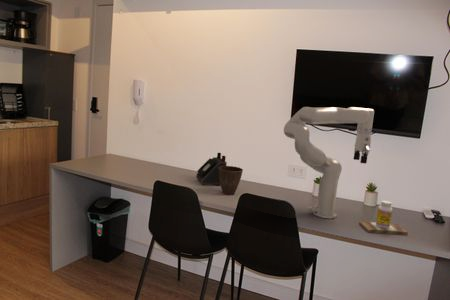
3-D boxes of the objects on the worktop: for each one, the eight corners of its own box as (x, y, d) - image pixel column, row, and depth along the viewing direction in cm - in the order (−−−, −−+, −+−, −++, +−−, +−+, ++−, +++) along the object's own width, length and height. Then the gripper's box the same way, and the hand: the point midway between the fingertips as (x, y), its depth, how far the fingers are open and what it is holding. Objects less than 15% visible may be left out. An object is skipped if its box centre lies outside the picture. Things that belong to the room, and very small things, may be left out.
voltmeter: (195, 179, 255) (197, 151, 252) (218, 179, 260) (220, 152, 257) (201, 186, 240) (203, 156, 237) (224, 186, 245) (227, 156, 242)
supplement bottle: (377, 227, 183) (380, 203, 181) (374, 222, 189) (377, 199, 187) (391, 229, 182) (395, 204, 180) (387, 224, 188) (391, 200, 186)
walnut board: (367, 232, 180) (368, 229, 180) (359, 224, 191) (359, 221, 190) (407, 235, 181) (407, 231, 180) (396, 226, 192) (397, 223, 191)
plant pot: (241, 191, 234) (243, 167, 232) (239, 198, 220) (242, 172, 217) (218, 189, 236) (220, 165, 233) (215, 195, 221) (217, 170, 218)
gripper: (377, 133, 192) (373, 165, 195) (364, 129, 209) (360, 158, 212) (363, 132, 191) (359, 164, 194) (351, 128, 209) (347, 158, 211)
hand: (359, 161), depth 203 cm, fingers open, 9 cm apart
